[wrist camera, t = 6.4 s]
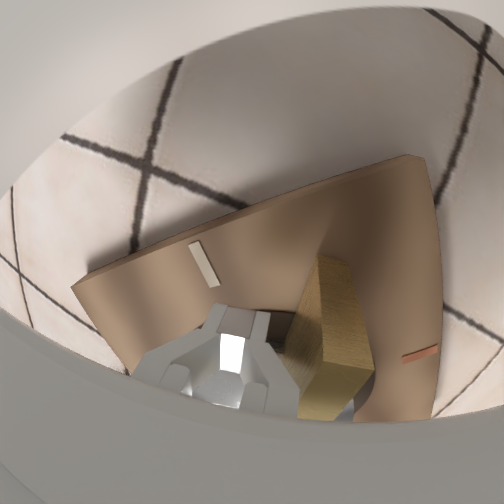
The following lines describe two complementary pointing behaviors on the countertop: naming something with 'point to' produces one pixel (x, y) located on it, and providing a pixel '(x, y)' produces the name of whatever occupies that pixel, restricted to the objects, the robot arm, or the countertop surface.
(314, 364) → the grey round gold-handled piece
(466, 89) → the countertop surface
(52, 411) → the robot arm
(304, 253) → the panel
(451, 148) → the countertop surface
